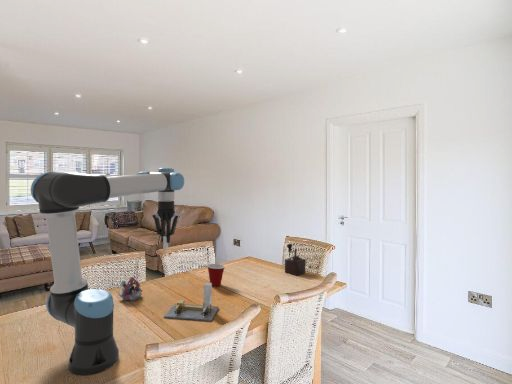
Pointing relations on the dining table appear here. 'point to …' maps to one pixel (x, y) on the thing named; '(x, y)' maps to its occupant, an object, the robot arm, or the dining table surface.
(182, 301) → the gauge rail
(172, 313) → the bolt plate
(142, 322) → the dining table surface
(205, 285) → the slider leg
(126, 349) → the dining table surface
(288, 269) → the dark box with lever
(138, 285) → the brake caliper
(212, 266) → the plastic cup
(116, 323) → the dining table surface
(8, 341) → the dining table surface
